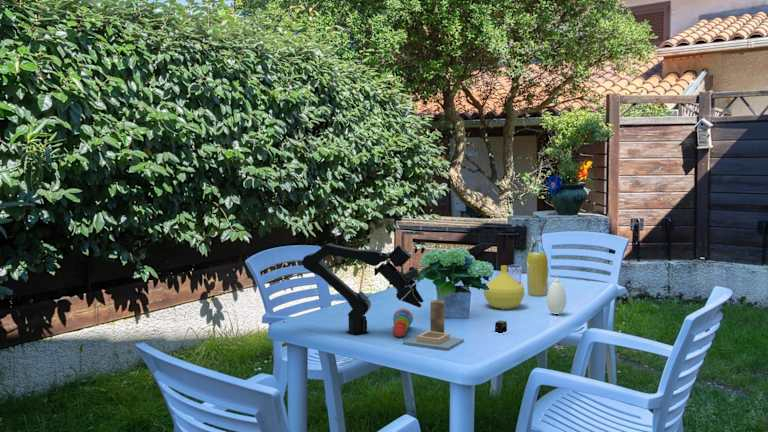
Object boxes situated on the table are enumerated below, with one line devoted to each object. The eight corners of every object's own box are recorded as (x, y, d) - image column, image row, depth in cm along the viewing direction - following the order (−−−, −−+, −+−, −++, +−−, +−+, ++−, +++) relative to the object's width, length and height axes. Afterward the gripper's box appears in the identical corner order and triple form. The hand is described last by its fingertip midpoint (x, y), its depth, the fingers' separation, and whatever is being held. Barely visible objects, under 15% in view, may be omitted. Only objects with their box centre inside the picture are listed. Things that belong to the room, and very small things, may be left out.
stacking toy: (397, 328, 273) (391, 344, 255) (391, 310, 273) (384, 325, 254) (415, 323, 272) (410, 339, 254) (409, 305, 271) (404, 319, 253)
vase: (475, 307, 310) (475, 265, 309) (500, 301, 322) (500, 261, 321) (507, 313, 296) (507, 270, 295) (532, 307, 309) (532, 265, 307)
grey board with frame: (402, 344, 245) (402, 336, 245) (420, 335, 257) (420, 328, 257) (448, 350, 236) (448, 342, 236) (463, 341, 249) (463, 333, 248)
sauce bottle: (558, 317, 287) (558, 275, 286) (543, 314, 294) (543, 273, 292) (569, 314, 292) (569, 273, 291) (554, 312, 298) (554, 271, 297)
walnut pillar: (430, 336, 257) (430, 302, 256) (431, 333, 262) (431, 300, 261) (443, 336, 256) (443, 303, 255) (444, 333, 261) (444, 300, 260)
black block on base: (500, 328, 270) (500, 317, 270) (517, 331, 266) (517, 320, 266) (484, 334, 261) (485, 323, 260) (501, 337, 256) (501, 325, 256)
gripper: (404, 264, 249) (434, 294, 248) (410, 257, 268) (438, 285, 267) (383, 285, 251) (413, 315, 250) (390, 277, 269) (418, 304, 268)
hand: (421, 304), depth 259 cm, fingers open, 9 cm apart
